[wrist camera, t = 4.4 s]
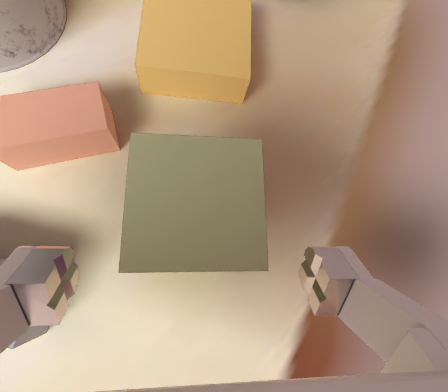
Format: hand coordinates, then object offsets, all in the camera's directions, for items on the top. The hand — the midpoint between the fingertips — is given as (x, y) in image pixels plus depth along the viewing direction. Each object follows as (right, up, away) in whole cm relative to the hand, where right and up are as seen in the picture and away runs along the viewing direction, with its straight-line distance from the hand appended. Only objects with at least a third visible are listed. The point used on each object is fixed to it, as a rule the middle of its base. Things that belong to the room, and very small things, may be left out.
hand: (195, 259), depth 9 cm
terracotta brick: (-9, +6, +7) cm, 13 cm away
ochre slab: (-1, +12, +10) cm, 16 cm away
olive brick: (-1, 0, +7) cm, 7 cm away
